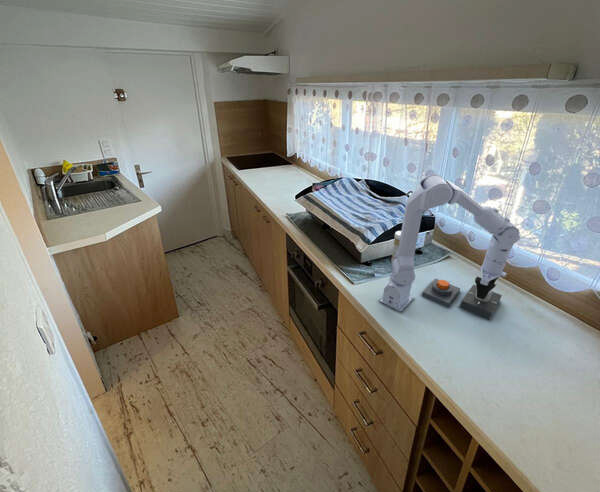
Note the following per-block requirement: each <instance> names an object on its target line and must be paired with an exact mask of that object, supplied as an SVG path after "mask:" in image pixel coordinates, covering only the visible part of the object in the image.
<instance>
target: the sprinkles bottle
mask: <svg viewBox="0 0 600 492" xmlns="http://www.w3.org/2000/svg"><path fill="white" fill-rule="evenodd" d="M400 236H401V230H397V231H395V233H394V241H393V246H392V253H391V260H390V261H392V259H393V258H394V257H395V254H396V252H397V251H398V248H399V242H400Z"/></svg>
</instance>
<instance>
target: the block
mask: <svg viewBox="0 0 600 492" xmlns="http://www.w3.org/2000/svg"><path fill="white" fill-rule="evenodd" d="M439 280H440V279H439V278H436V277H435V278H434V279H433V280H432V282H431V283H430V284H429V285H428V286H427V287H426V288H425V289H424V290H423V291H422V293H421V296H422V297H424V298H427V299H428V300H431V301H433V302H435V303H437V304H440V305H442V306H444V307H447V308H449V306H450V305H451V304H452V302H453V301H454V300H455V298H456V297H457V296H458V294H459V293H460V290H461V287H458V286H455V285H454V284H451V283H449V287H448V289H447V290H443V289H440V288H438V287H437V284H438V281H439Z"/></svg>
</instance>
